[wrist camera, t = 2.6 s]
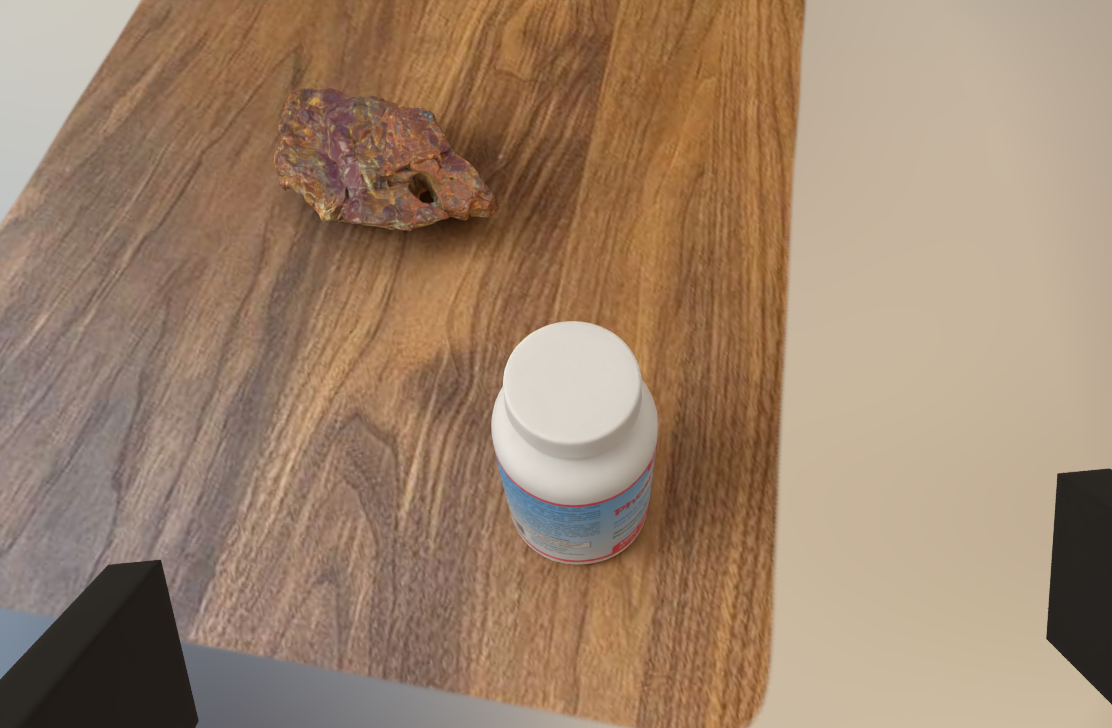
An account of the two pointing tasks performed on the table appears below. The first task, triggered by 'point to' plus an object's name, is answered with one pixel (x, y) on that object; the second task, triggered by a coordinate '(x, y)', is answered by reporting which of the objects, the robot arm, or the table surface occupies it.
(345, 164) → the mineral specimen
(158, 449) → the table surface
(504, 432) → the pill bottle
